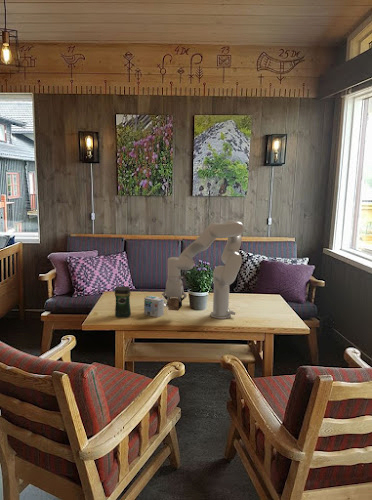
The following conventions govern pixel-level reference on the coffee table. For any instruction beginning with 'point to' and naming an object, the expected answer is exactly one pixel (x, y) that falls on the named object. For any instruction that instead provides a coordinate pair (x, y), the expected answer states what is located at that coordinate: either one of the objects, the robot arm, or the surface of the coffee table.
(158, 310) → the light bulb box
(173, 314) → the coffee table surface
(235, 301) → the coffee table surface
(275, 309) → the coffee table surface
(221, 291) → the robot arm
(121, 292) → the coffee jar
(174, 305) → the walnut cube
